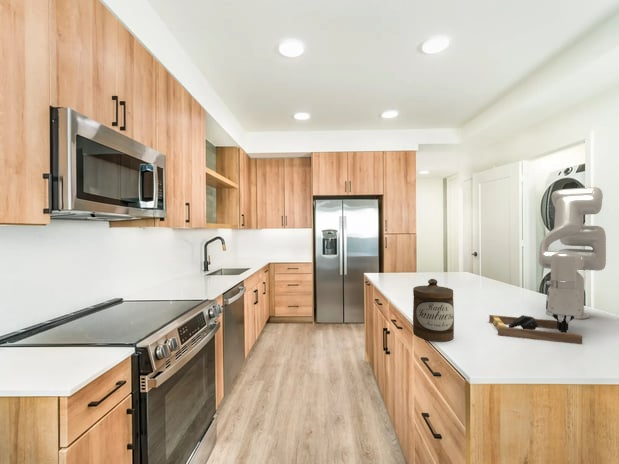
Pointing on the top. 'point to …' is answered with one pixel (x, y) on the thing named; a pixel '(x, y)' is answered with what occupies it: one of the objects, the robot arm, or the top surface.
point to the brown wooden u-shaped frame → (533, 334)
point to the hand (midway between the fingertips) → (562, 331)
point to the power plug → (524, 323)
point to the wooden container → (433, 312)
